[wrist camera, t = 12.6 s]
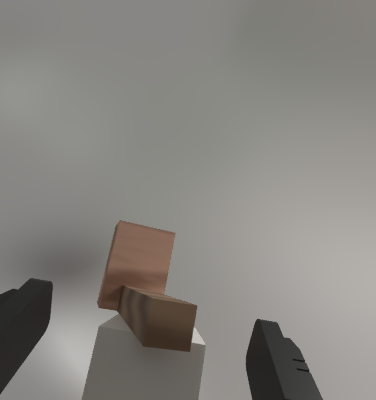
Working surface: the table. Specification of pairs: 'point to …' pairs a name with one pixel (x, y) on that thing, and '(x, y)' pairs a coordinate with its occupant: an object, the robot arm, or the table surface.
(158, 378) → the pedestal
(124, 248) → the mallet
